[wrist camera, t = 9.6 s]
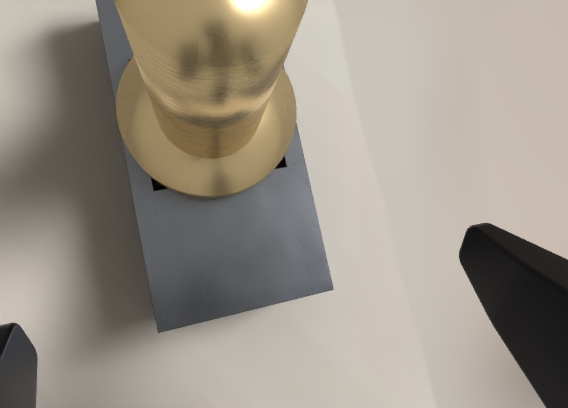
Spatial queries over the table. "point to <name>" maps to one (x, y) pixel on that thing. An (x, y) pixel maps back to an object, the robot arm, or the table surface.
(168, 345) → the table surface
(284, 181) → the steel hitch block
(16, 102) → the table surface
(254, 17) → the brass pin
